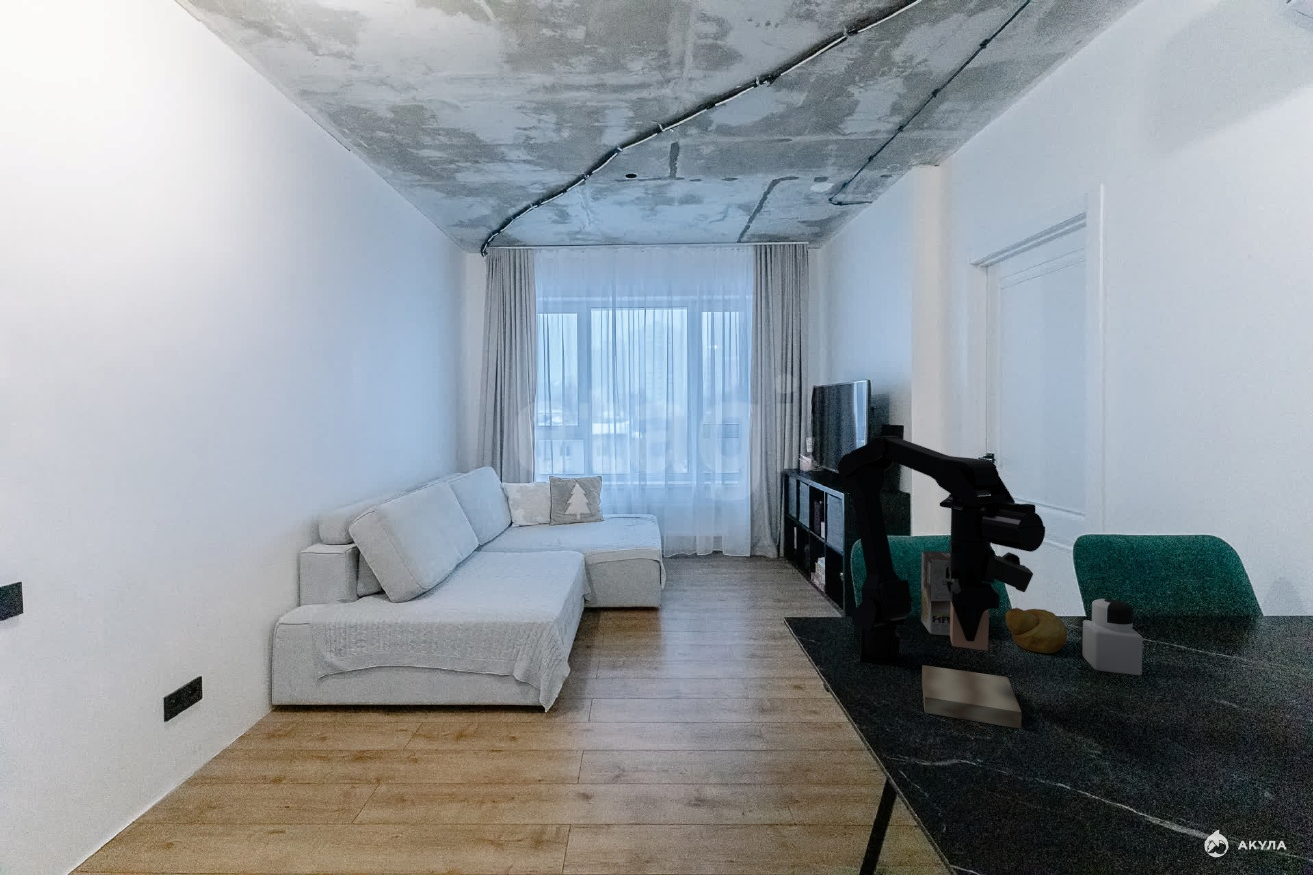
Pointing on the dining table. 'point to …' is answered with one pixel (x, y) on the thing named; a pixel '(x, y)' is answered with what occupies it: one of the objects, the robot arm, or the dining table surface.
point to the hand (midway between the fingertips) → (968, 635)
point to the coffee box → (935, 593)
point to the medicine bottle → (1112, 638)
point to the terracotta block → (958, 635)
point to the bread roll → (1036, 630)
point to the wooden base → (970, 696)
